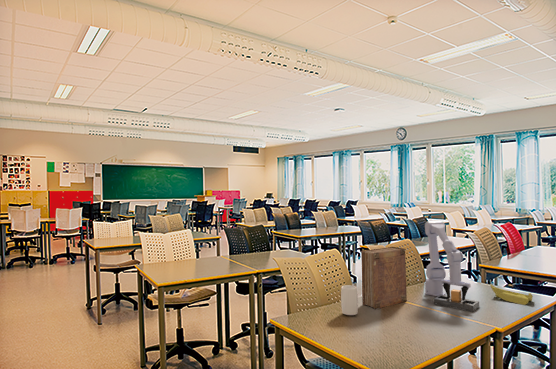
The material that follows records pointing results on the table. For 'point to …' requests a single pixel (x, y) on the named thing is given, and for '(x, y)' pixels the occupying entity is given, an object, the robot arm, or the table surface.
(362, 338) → the table surface
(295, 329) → the table surface
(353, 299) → the cup
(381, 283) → the book
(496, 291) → the banana
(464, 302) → the grey compartment tray
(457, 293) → the peg
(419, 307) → the table surface
